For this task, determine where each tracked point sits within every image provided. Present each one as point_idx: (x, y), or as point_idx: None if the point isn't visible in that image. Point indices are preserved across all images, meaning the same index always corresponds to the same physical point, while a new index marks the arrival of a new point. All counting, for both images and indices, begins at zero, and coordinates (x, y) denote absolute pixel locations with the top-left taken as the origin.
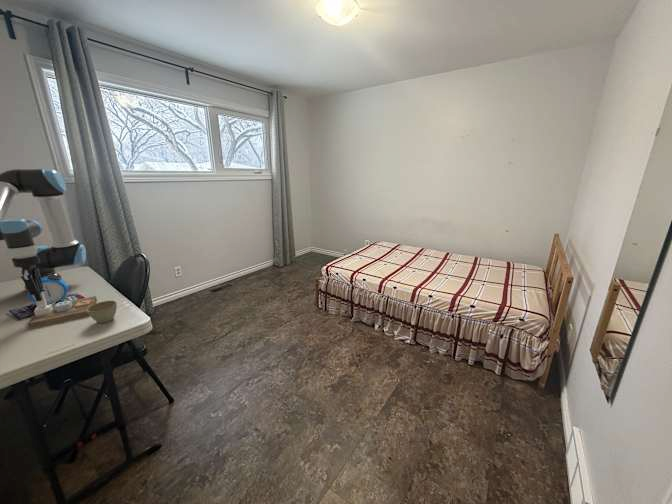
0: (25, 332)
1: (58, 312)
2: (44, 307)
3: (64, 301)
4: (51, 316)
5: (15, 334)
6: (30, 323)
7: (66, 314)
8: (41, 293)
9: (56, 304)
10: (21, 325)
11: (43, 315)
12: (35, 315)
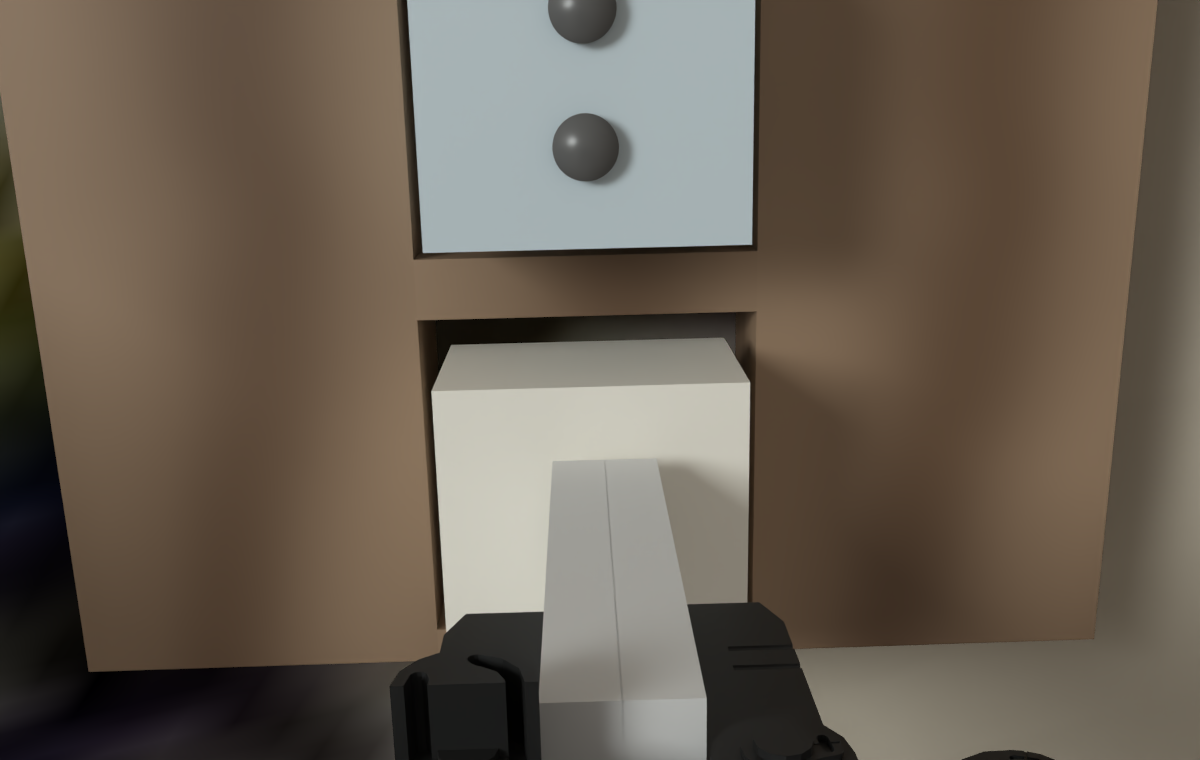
0: (1192, 585)
1: (805, 168)
2: None
3: (423, 78)
4: (996, 263)
5: (1163, 711)
6: (1092, 582)
7: None
8: (699, 697)
9: (573, 247)
10: None
11: (791, 452)
12: None
